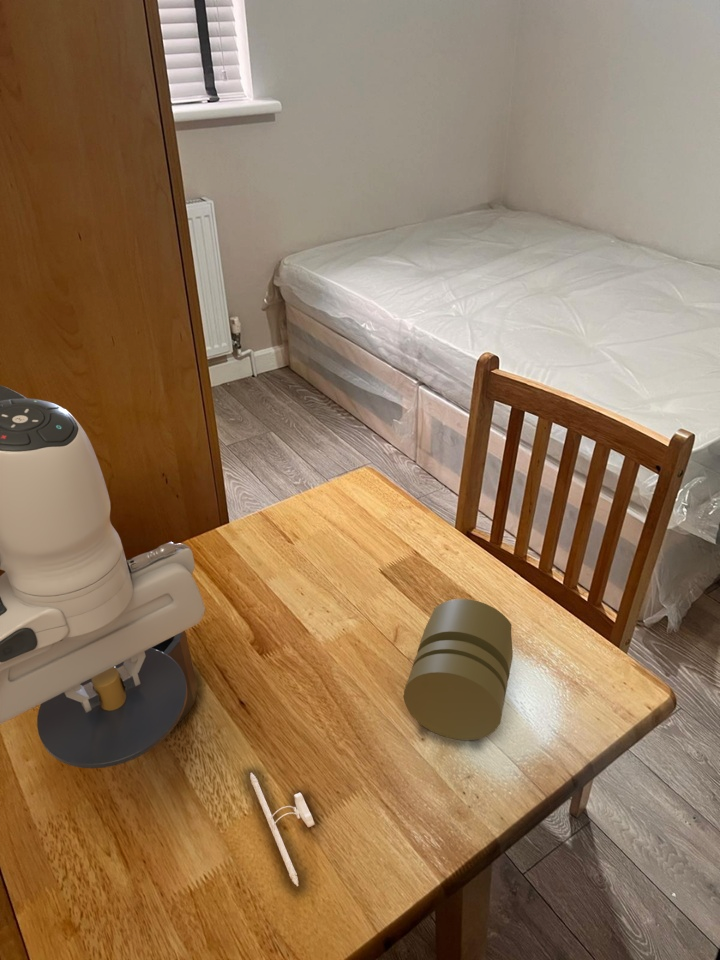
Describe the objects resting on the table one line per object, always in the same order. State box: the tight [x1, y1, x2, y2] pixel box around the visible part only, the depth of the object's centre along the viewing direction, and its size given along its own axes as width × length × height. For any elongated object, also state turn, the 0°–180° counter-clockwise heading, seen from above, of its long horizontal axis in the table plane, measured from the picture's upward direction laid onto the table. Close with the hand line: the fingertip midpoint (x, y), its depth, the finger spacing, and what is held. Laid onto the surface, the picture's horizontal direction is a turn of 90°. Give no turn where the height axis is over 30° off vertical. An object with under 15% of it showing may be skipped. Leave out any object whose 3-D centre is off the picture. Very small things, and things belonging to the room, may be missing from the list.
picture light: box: [249, 772, 315, 887], centre depth 78 cm, size 14×4×2 cm, turn 26°
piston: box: [403, 598, 514, 741], centre depth 88 cm, size 11×12×11 cm
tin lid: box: [36, 648, 187, 769], centre depth 68 cm, size 14×14×5 cm
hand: (110, 694), depth 68 cm, fingers closed on tin lid, 2 cm apart
